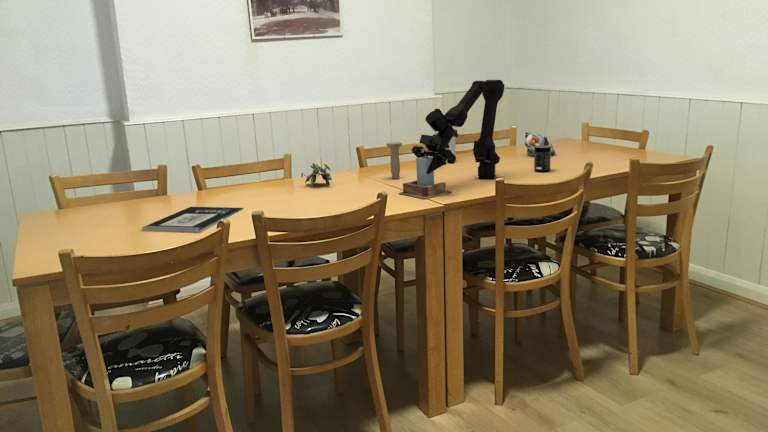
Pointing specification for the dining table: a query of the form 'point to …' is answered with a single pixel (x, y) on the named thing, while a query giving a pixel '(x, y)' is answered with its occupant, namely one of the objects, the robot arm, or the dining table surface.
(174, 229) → the sketchbook
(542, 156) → the supplement container
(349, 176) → the dining table surface
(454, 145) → the skincare box
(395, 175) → the handle
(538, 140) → the lucky cat figurine
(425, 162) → the post
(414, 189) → the brown wooden tray
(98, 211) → the dining table surface
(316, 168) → the dark green irregular figure
